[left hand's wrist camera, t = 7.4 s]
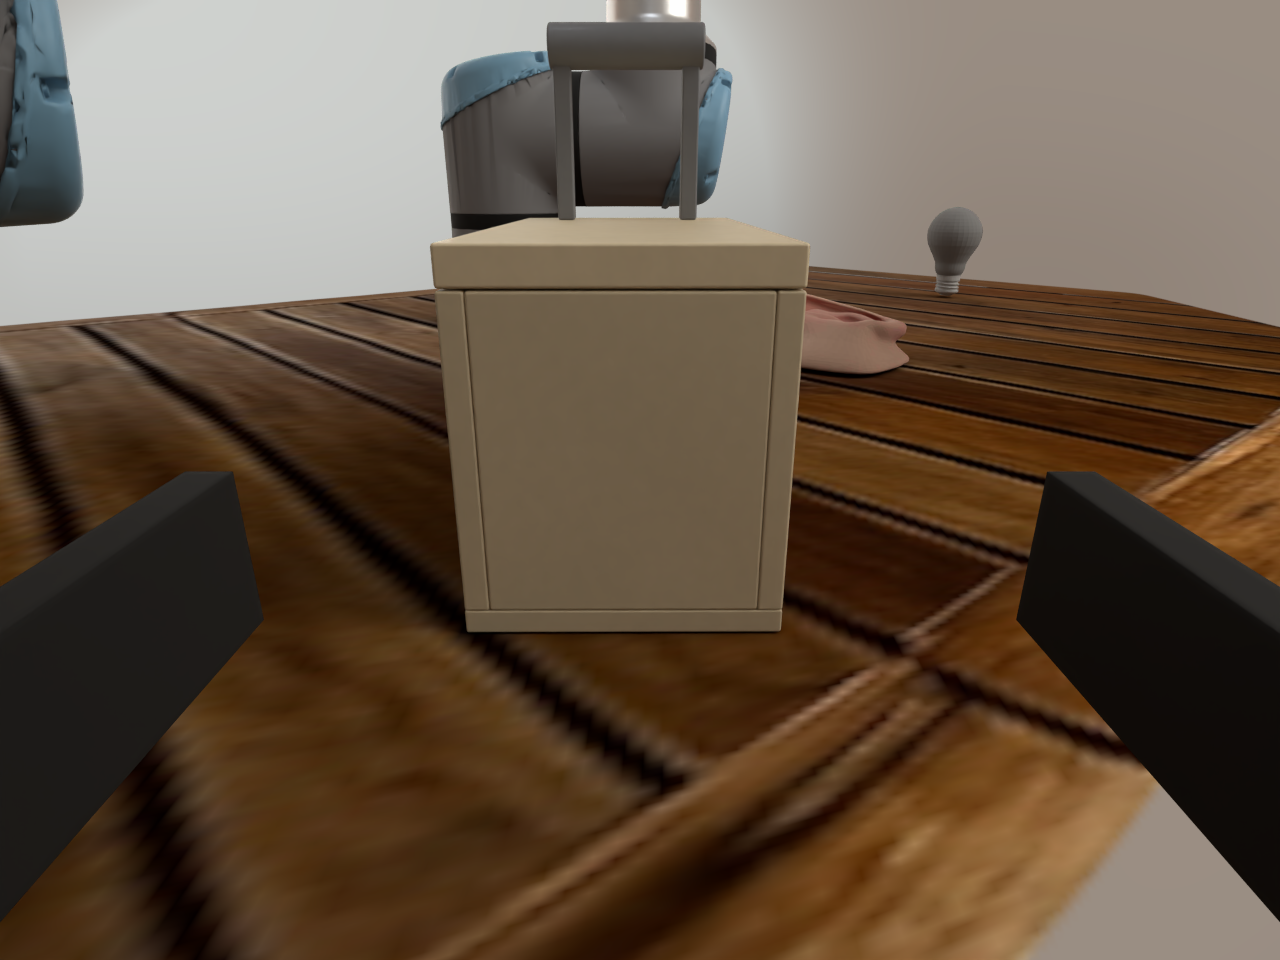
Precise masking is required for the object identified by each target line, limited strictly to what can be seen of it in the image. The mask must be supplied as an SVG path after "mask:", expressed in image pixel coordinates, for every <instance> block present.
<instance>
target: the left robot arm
mask: <svg viewBox="0 0 1280 960" xmlns="http://www.w3.org/2000/svg"><path fill="white" fill-rule="evenodd" d="M69 85H70V82H69V76H68V70H67V61H66V53H65V46H64V40H63V34H62V27H61V21H60V15H59V10H58V4H57V0H0V227H7V226H21V225H36V224H51V223H56V222H61V221H63V220H66V219H68V218H69V217H71V216H72V215H73V214H74V213H75V212H76V211H77V210H78V208H79V207H80V205H81V203H82V199H83V192H84V190H83V175H82V165H81V156H80V149H79V142H78V134H77V127H76V121H75V114H74V108H73V102H72V97H71V94H70V88H69ZM263 620H264V619H263V614H262V609H261V604H260V599H259V595H258V590H257V585H256V580H255V576H254V571H253V566H252V561H251V557H250V552H249V547H248V542H247V537H246V533H245V528H244V523H243V518H242V514H241V509H240V504H239V499H238V495H237V490H236V485H235V480H234V475H233V472H184V473H182V474H181V475H179V476H177V477H176V478H174V479H173V480H171V481H169V482H168V483H166V484H165V485H163V486H161V487H160V488H158V489H157V490H155V491H153V492H152V493H150V494H149V495H147V496H145V497H144V498H142V499H141V500H139V501H137V502H136V503H134V504H133V505H131V506H129V507H128V508H126V509H125V510H123V511H121V512H120V513H118V514H117V515H115V516H113V517H112V518H110V519H108V520H107V521H105V522H104V523H102V524H100V525H99V526H97V527H96V528H94V529H92V530H91V531H89V532H88V533H86V534H84V535H83V536H81V537H80V538H78V539H76V540H75V541H73V542H72V543H70V544H68V545H67V546H65V547H64V548H62V549H60V550H59V551H57V552H56V553H54V554H52V555H51V556H49V557H48V558H46V559H44V560H43V561H41V562H40V563H38V564H36V565H35V566H33V567H31V568H30V569H28V570H27V571H25V572H23V573H22V574H20V575H19V576H17V577H15V578H14V579H12V580H11V581H9V582H7V583H6V584H4V585H3V586H1V587H0V922H1V920H2V919H3V918H4V917H5V916H6V915H7V914H8V912H9V911H10V910H11V909H12V908H13V907H14V906H15V904H16V903H17V902H18V901H19V900H20V899H21V897H22V896H23V895H24V894H25V893H26V892H27V891H28V889H29V888H30V887H31V886H32V885H33V884H34V883H35V881H36V880H37V879H38V878H39V877H40V876H41V875H42V873H43V872H44V871H45V870H46V869H47V868H48V867H49V865H50V864H51V863H52V862H53V861H54V860H55V858H56V857H57V856H58V855H59V854H60V853H61V852H62V850H63V849H64V848H65V847H66V846H67V845H68V844H69V842H70V841H71V840H72V839H73V838H74V837H75V836H76V834H77V833H78V832H79V831H80V830H81V829H82V828H83V826H84V825H85V824H86V823H87V822H88V821H89V819H90V818H91V817H92V816H93V815H94V814H95V813H96V811H97V810H98V809H99V808H100V807H101V806H102V805H103V803H104V802H105V801H106V800H107V799H108V798H109V797H110V795H111V794H112V793H113V792H114V791H115V790H116V789H117V787H118V786H119V785H120V784H121V783H122V782H123V781H124V779H125V778H126V777H127V776H128V775H129V774H130V772H131V771H132V770H133V769H134V768H135V767H136V766H137V764H138V763H139V762H140V761H141V760H142V759H143V758H144V756H145V755H146V754H147V753H148V752H149V751H150V750H151V748H152V747H153V746H154V745H155V744H156V743H157V742H158V740H159V739H160V738H161V737H162V736H163V735H164V733H165V732H166V731H167V730H168V729H169V728H170V727H171V725H172V724H173V723H174V722H175V721H176V720H177V719H178V717H179V716H180V715H181V714H182V713H183V712H184V711H185V709H186V708H187V707H188V706H189V705H190V704H191V703H192V701H193V700H194V699H195V698H196V697H197V696H198V694H199V693H200V692H201V691H202V690H203V689H204V688H205V686H206V685H207V684H208V683H209V682H210V681H211V680H212V678H213V677H214V676H215V675H216V674H217V673H218V672H219V670H220V669H221V668H222V667H223V666H224V665H225V664H226V662H227V661H228V660H229V659H230V658H231V657H232V656H233V654H234V653H235V652H236V651H237V650H238V649H239V647H240V646H241V645H242V644H243V643H244V642H245V641H246V639H247V638H248V637H249V636H250V635H251V634H252V633H253V631H254V630H255V629H256V628H257V627H258V626H259V625H260V623H261V622H262V621H263ZM1016 620H1017V621H1018V622H1019V623H1020V625H1021V626H1022V627H1023V628H1024V629H1025V630H1026V631H1027V633H1028V634H1029V635H1030V636H1031V637H1032V638H1033V639H1034V641H1035V642H1036V643H1037V644H1038V645H1039V646H1040V647H1041V649H1042V650H1043V651H1044V652H1045V653H1046V654H1047V656H1048V657H1049V658H1050V659H1051V660H1052V661H1053V662H1054V664H1055V665H1056V666H1057V667H1058V668H1059V669H1060V670H1061V672H1062V673H1063V674H1064V675H1065V676H1066V677H1067V678H1068V680H1069V681H1070V682H1071V683H1072V684H1073V685H1074V686H1075V688H1076V689H1077V690H1078V691H1079V692H1080V693H1081V695H1082V696H1083V697H1084V698H1085V699H1086V700H1087V701H1088V703H1089V704H1090V705H1091V706H1092V707H1093V708H1094V709H1095V711H1096V712H1097V713H1098V714H1099V715H1100V716H1101V717H1102V719H1103V720H1104V721H1105V722H1106V723H1107V724H1108V725H1109V727H1110V728H1111V729H1112V730H1113V731H1114V732H1115V733H1116V735H1117V736H1118V737H1119V738H1120V739H1121V740H1122V742H1123V743H1124V744H1125V745H1126V746H1127V747H1128V748H1129V750H1130V751H1131V752H1132V753H1133V754H1134V755H1135V756H1136V758H1137V759H1138V760H1139V761H1140V762H1141V763H1142V764H1143V766H1144V767H1145V768H1146V769H1147V770H1148V771H1149V772H1150V774H1151V775H1152V776H1153V777H1154V778H1155V779H1156V781H1157V782H1158V783H1159V784H1160V785H1161V786H1162V787H1163V789H1164V790H1165V791H1166V792H1167V793H1168V794H1169V795H1170V797H1171V798H1172V799H1173V800H1174V801H1175V802H1176V803H1177V805H1178V806H1179V807H1180V808H1181V809H1182V810H1183V811H1184V813H1185V814H1186V815H1187V816H1188V817H1189V818H1190V820H1191V821H1192V822H1193V823H1194V824H1195V825H1196V826H1197V828H1198V829H1199V830H1200V831H1201V832H1202V833H1203V834H1204V836H1205V837H1206V838H1207V839H1208V840H1209V841H1210V842H1211V844H1212V845H1213V846H1214V847H1215V848H1216V849H1217V850H1218V852H1219V853H1220V854H1221V855H1222V856H1223V857H1224V858H1225V860H1226V861H1227V862H1228V863H1229V864H1230V865H1231V867H1232V868H1233V869H1234V870H1235V871H1236V872H1237V873H1238V875H1239V876H1240V877H1241V878H1242V879H1243V880H1244V881H1245V883H1246V884H1247V885H1248V886H1249V887H1250V888H1251V889H1252V891H1253V892H1254V893H1255V894H1256V895H1257V896H1258V897H1259V899H1260V900H1261V901H1262V902H1263V903H1264V904H1265V905H1266V907H1267V908H1268V909H1269V910H1270V911H1271V912H1272V913H1273V915H1274V916H1275V917H1276V918H1277V919H1278V920H1279V922H1280V587H1279V586H1277V585H1276V584H1274V583H1273V582H1271V581H1269V580H1268V579H1266V578H1265V577H1263V576H1261V575H1260V574H1258V573H1257V572H1255V571H1253V570H1252V569H1250V568H1249V567H1247V566H1245V565H1244V564H1242V563H1240V562H1239V561H1237V560H1236V559H1234V558H1232V557H1231V556H1229V555H1228V554H1226V553H1224V552H1223V551H1221V550H1220V549H1218V548H1216V547H1215V546H1213V545H1212V544H1210V543H1208V542H1207V541H1205V540H1204V539H1202V538H1200V537H1199V536H1197V535H1196V534H1194V533H1192V532H1191V531H1189V530H1188V529H1186V528H1184V527H1183V526H1181V525H1180V524H1178V523H1176V522H1175V521H1173V520H1172V519H1170V518H1168V517H1167V516H1165V515H1163V514H1162V513H1160V512H1159V511H1157V510H1155V509H1154V508H1152V507H1151V506H1149V505H1147V504H1146V503H1144V502H1143V501H1141V500H1139V499H1138V498H1136V497H1135V496H1133V495H1131V494H1130V493H1128V492H1127V491H1125V490H1123V489H1122V488H1120V487H1119V486H1117V485H1115V484H1114V483H1112V482H1111V481H1109V480H1107V479H1106V478H1104V477H1103V476H1101V475H1099V474H1098V473H1096V472H1047V475H1046V480H1045V485H1044V490H1043V495H1042V499H1041V504H1040V509H1039V514H1038V518H1037V523H1036V528H1035V533H1034V537H1033V542H1032V547H1031V552H1030V557H1029V561H1028V566H1027V571H1026V576H1025V580H1024V585H1023V590H1022V595H1021V599H1020V604H1019V609H1018V614H1017V619H1016Z"/></svg>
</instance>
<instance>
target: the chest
mask: <svg viewBox="0 0 1280 960" xmlns="http://www.w3.org/2000/svg"><path fill="white" fill-rule="evenodd" d="M806 295H807V294H806V291H804V290H802V289H801V288H796V289H440V290H438V291H436V292H435V304H436V314H437V325H438V335H439V345H440V356H441V366H442V376H443V387H444V397H445V407H446V418H447V428H448V438H449V449H450V459H451V469H452V480H453V490H454V500H455V511H456V521H457V531H458V542H459V552H460V562H461V573H462V583H463V593H464V604H465V609H466V611H465V616H466V626H467V632H697V631H780V630H781V618H782V610H781V609H782V603H783V590H784V578H785V565H786V552H787V539H788V526H789V513H790V500H791V488H792V475H793V462H794V449H795V436H796V423H797V410H798V398H799V385H800V372H801V359H802V346H803V333H804V320H805V307H806Z"/></svg>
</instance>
